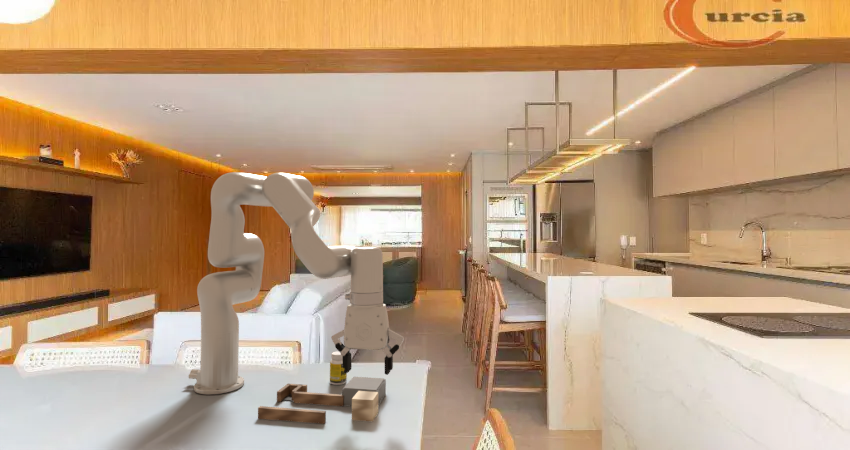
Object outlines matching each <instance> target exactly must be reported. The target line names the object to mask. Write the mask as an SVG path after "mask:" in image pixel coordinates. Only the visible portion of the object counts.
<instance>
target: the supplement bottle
mask: <svg viewBox="0 0 850 450" xmlns="http://www.w3.org/2000/svg"><path fill="white" fill-rule="evenodd" d="M347 374H348V373H345V372H344V368H343V356H342V355H341V353H340V352H339V351H338V350H337V351H333V352H332V353H331V359H330V360H329V383H330V384H331V385H332V386H333V385H335V386H341V385H345V384H347V383H346V382H347V379H348V377H347V376H348V375H347Z"/></svg>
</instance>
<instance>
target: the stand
mask: <svg viewBox="0 0 850 450" xmlns="http://www.w3.org/2000/svg"><path fill="white" fill-rule="evenodd" d="M386 384H387V381H386V378H383V377H382V378H381V377H368V376H367V377H366V376H365V377H364V376H353V377H352V378H351V379H350V380H349V381H348V382H347V383H346V384H345V385H344V387H342V389H341V395H343V396H344V406H343V407H352V398H353V397H354V396H355V394H356V393H357V392H358V391H369V392H378V407H379V406H380V404H381V402H382V401H383V400H384V397H385V396H386V395H387V394H386V390H387V388H386V386H387V385H386Z"/></svg>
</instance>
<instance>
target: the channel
mask: <svg viewBox="0 0 850 450" xmlns="http://www.w3.org/2000/svg"><path fill="white" fill-rule="evenodd" d="M283 401H284V402H285V401H289V402H293V403H294V404H303V405H318V406H330V407H331V406H333V407H334V406H335V407H345V406H344V396H343V395H342V394H338V393H337V394H336V393H324V392H310V391H308V384H298V383H287V384H285V385H283V387H281V388H280V389H279V390H277V391H276V402H277V403H278V402H279V403H281V402H283ZM326 416H327V411H326V410H319V409H318V410H317V409H316V410H315V409H304V408H294V407H293V408H290V407H278V406H276V407H274V406H263V405H260V406H258V407H257V419H258V420H269V421H270V420H271V421H282V422H293V423H295V422H296V423H310V424H322V425H324V424H325V423H326V422H327V421H326V420H327V418H326Z"/></svg>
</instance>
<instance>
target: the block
mask: <svg viewBox="0 0 850 450" xmlns="http://www.w3.org/2000/svg"><path fill="white" fill-rule="evenodd" d="M378 414H379V406H378V392H369V391H358V392H357V393H356V394H355V396H354V397H353V398H352V406H351V421H356V422H357V421H358V422H374V421H375V418H376V417H377V415H378Z"/></svg>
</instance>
